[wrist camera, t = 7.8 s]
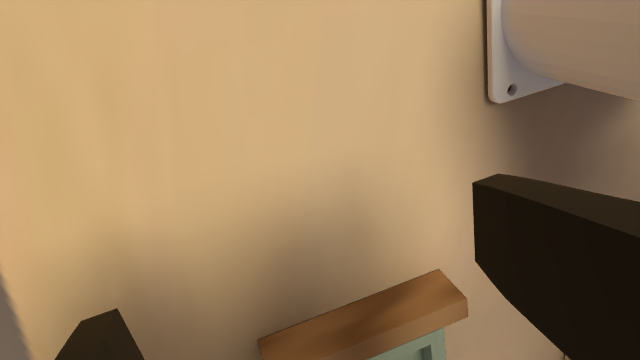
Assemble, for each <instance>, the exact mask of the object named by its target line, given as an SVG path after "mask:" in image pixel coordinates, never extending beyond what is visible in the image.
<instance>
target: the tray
mask: <svg viewBox="0 0 640 360" xmlns="http://www.w3.org/2000/svg"><path fill="white" fill-rule="evenodd" d="M366 360H446V352H445V340H444V328H443V327H442V328H440V329H438V330H435V331H433V332H430V333H428V334H426V335H423V336H421V337H419V338H416V339H414V340H411V341H409V342H407V343H404V344H402V345H400V346H397V347H395V348H392V349H390V350H388V351H385V352H383V353H381V354H378V355H376V356H373V357H371V358H369V359H366Z"/></svg>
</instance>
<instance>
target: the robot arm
mask: <svg viewBox="0 0 640 360" xmlns="http://www.w3.org/2000/svg"><path fill="white" fill-rule="evenodd" d="M487 56H488V96H489V99H490V100H491V101H493V102H495V103H498V104H501V103H505V102H508V101H511V100H514V99H518V98H521V97H524V96H527V95H530V94H533V93H536V92H540V91H543V90H546V89H549V88H552V87H555V86H558V85H562V84H565V83H569V84H573V85H577V86H581V87H585V88H589V89H593V90H596V91H600V92H604V93H608V94H612V95H616V96H620V97H624V98H628V99H631V100H635V101H639V102H640V0H487ZM510 85H511V90H510V91H509V92H508V93H507V90H508V88H509V86H510ZM472 186H473V214H474V242H475V261H476V263H477V264H478V265H479V266H480V268H481V269H482V270H483V272H484V273H485V274H486V275H487V277H488V278H489V279H490V280H491V282H492V283H493V284H494V285H495V286H496V288H497V289H498V290H499V291H500V292H501V293H502V295H503V296H504V297H505V298H506V299H507V300H508V301H509V302H510V303H511V304H512V305H513V306H514V307H515V308H516V309H517V310H518V311H519V312H520V313H521V314H522V315H524V316H525V317H526V318H527V319H528V320H529V321H530V322H531V323H532V324H533V325H534V326H535V327H536V328H537V329H538V330H539V331H540V332H542V333H543V334H544V335H545V336H546V337H547V338H548V339H549V340H550V341H551V342H552V343H553V344H554V345H555V346H557V347H558V348H559V349H560V350H561V351H562V352H563V353H564V354H565V355H566V356H567V357H568V358H569V359H571V360H640V202H637V201H632V200H627V199H622V198H617V197H612V196H607V195H603V194H598V193H593V192H589V191H584V190H579V189H575V188H570V187H566V186H561V185H556V184H552V183H547V182H543V181H538V180H533V179H528V178H522V177H517V176H511V175H503V174H496V175H493V176H490V177H487V178H484V179H482V180H479V181H476V182H473V183H472ZM55 360H144V358H143V356H142V354H141V352H140V350H139V348H138V346H137V345H136V343H135V341H134V339H133V337H132V335H131V333H130V331H129V330H128V328H127V326H126V324H125V322H124V320H123V318H122V316H121V315H120V313H119V311H118V309H114V310H111V311H108V312H105V313H103V314H100V315H97V316H94V317H91V318H88V319H86V320H83V321H81V322H80V323H79V325H78V326H77V328H76V329H75V330H74V332H73V333H72V335H71V336H70V337H69V339H68V340H67V342H66V343H65V345H64V346H63V348H62V349H61V351H60V352H59V354H58V355H57V357H56V358H55Z"/></svg>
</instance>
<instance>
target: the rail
mask: <svg viewBox="0 0 640 360" xmlns="http://www.w3.org/2000/svg"><path fill="white" fill-rule="evenodd" d="M466 317H468V307H467V298H466V297H465V296H464V295H463V294H462V293H461V292H460V291H459V290H458V288H457V287H456V286H455V285H454V284H453V283H452V282H451V281H450V280H449V279H448V278H447V277H446V276H445V275H444V274H443V273H442V272H441V271H440V270H439V269H438V270H436V271H433V272H431V273H428V274H425V275H423V276H420V277H418V278H415V279H413V280H410V281H408V282H405V283H402V284H400V285H397V286H395V287H392V288H390V289H387V290H385V291H382V292H379V293H377V294H374V295H372V296H369V297H367V298H364V299H362V300H359V301H356V302H354V303H351V304H349V305H346V306H344V307H341V308H338V309H336V310H333V311H331V312H328V313H326V314H323V315H321V316H318V317H315V318H313V319H310V320H308V321H305V322H303V323H300V324H298V325H295V326H292V327H290V328H287V329H285V330H282V331H280V332H277V333H275V334H272V335H269V336H267V337H264V338H262V339H259V340H258V343H259V347H260V351H261V354H262V358H263V360H366V359H369V358H371V357H373V356H376V355H378V354H381V353H383V352H385V351H388V350H390V349H392V348H395V347H397V346H400V345H402V344H404V343H407V342H409V341H411V340H414V339H416V338H419V337H421V336H423V335H426V334H428V333H430V332H433V331H435V330H438V329H440V328H442V327H445V326H447V325H449V324H452V323H454V322H457V321H459V320H461V319H464V318H466Z"/></svg>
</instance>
